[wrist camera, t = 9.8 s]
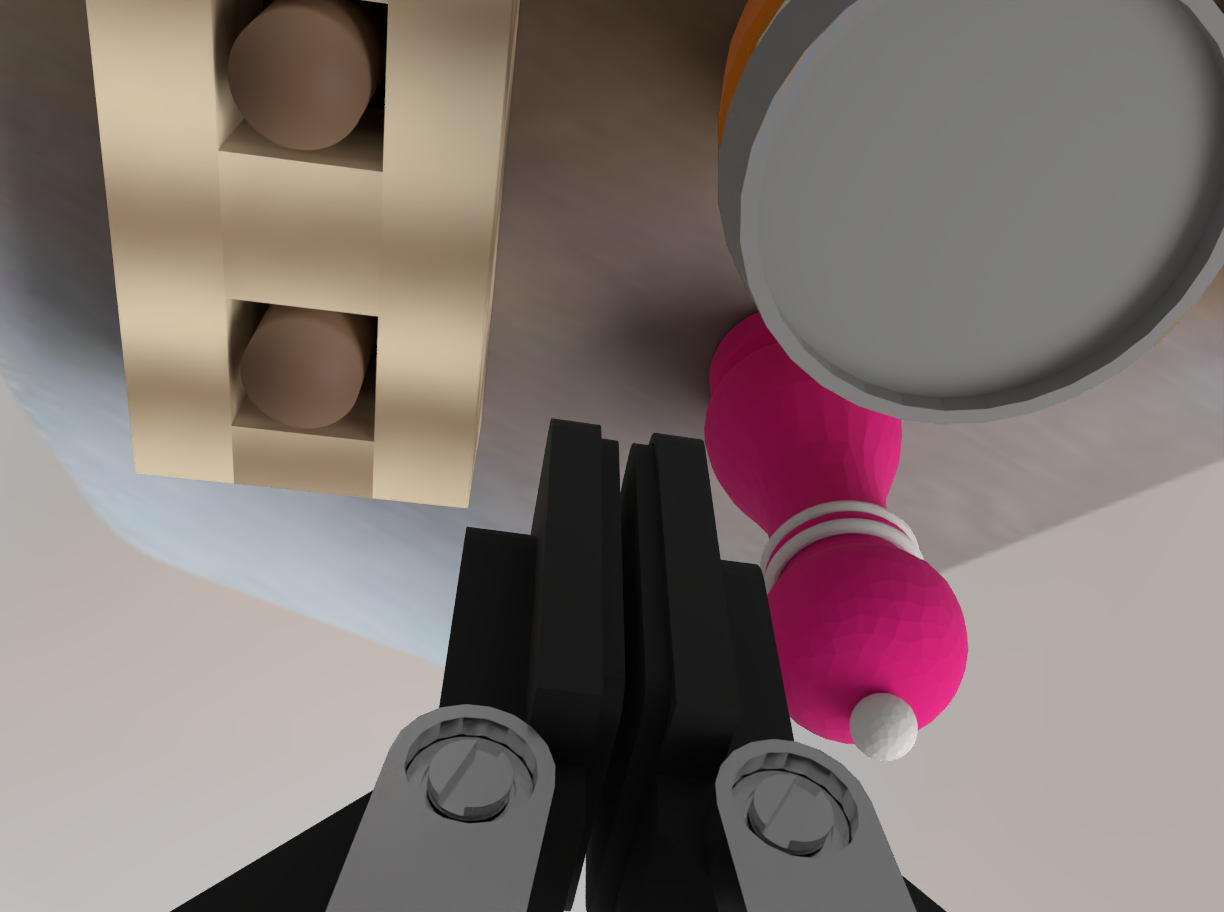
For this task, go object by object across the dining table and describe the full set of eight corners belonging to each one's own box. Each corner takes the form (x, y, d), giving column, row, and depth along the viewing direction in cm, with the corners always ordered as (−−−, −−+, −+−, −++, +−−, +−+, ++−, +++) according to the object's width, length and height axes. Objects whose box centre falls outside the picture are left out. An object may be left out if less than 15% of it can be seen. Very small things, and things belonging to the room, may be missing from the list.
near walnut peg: (274, -39, 38) (224, 2, 32) (398, -22, 38) (367, 22, 33) (276, 84, 40) (230, 140, 35) (393, 100, 40) (364, 158, 35)
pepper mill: (676, 319, 45) (722, 685, 29) (858, 269, 44) (1017, 620, 28) (720, 465, 49) (783, 863, 32) (889, 422, 48) (1044, 812, 31)
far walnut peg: (279, 246, 43) (237, 318, 38) (388, 259, 43) (360, 333, 38) (281, 340, 45) (242, 421, 40) (384, 352, 45) (358, 434, 40)
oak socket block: (144, -164, 36) (70, -140, 31) (529, -105, 37) (518, -73, 32) (184, 389, 47) (135, 473, 42) (481, 422, 48) (467, 508, 43)
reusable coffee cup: (743, 261, 44) (801, 488, 31) (637, -77, 37) (656, 40, 25) (1078, 152, 42) (1283, 350, 29) (1027, -228, 35) (1264, -183, 23)
